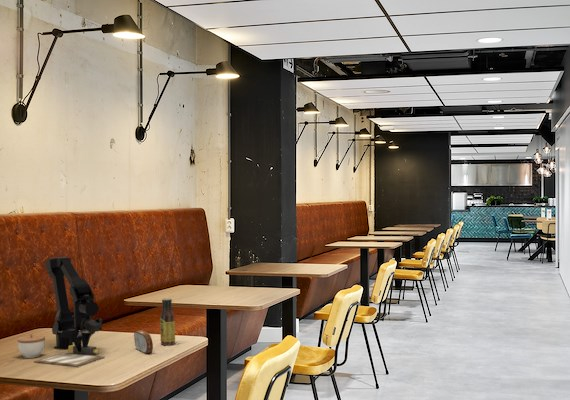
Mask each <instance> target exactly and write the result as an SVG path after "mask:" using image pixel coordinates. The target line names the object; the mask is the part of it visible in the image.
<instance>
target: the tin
mask: <svg viewBox="0 0 570 400" xmlns="http://www.w3.org/2000/svg"><path fill="white" fill-rule="evenodd" d="M133 339H134V346H135V348H136V349H137V351H139V352H141V353H142V354H151V353H152V352H153V350H154V343H153V338H152V336H151V334H150V333H149V332H147V331H145V330H143V329H139V330H137V331H135V332H134V333H133Z"/></svg>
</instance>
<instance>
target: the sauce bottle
mask: <svg viewBox="0 0 570 400" xmlns="http://www.w3.org/2000/svg"><path fill="white" fill-rule="evenodd" d="M172 301H173V300H172V298H170V297H168V298H167V297H166V298H162V299H161V303H162V311H161V313H160V316H159V325H160V326H159V329H160V330H159V331H160V334H159V335H160V344H161V345H162V346H173V345H175V344H176V321H175V320H176V319H175V312H174V311H173V309H172Z"/></svg>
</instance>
